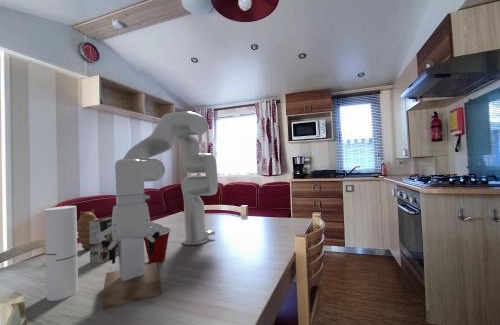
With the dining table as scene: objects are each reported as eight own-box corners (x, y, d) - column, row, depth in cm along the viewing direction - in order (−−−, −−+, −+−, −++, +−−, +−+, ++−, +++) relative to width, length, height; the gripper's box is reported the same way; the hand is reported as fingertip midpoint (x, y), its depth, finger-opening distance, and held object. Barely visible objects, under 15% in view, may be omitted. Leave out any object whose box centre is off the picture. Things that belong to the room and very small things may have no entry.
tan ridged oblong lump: (79, 254, 100) (78, 212, 101) (73, 250, 105) (73, 211, 106) (102, 248, 107) (101, 209, 108) (95, 245, 112) (95, 208, 113)
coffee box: (103, 263, 89) (102, 221, 90) (89, 262, 91) (88, 221, 91) (121, 254, 98) (120, 216, 99) (108, 253, 99) (107, 216, 100)
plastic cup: (153, 268, 82) (152, 234, 83) (136, 263, 88) (135, 231, 88) (177, 257, 91) (176, 227, 92) (160, 253, 97) (159, 224, 98)
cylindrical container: (58, 288, 70) (57, 206, 71) (83, 286, 71) (81, 205, 72) (39, 302, 63) (38, 210, 64) (67, 299, 64) (65, 209, 65)
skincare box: (140, 270, 72) (139, 231, 72) (145, 274, 68) (144, 234, 69) (118, 277, 68) (117, 236, 68) (122, 282, 64) (121, 239, 65)
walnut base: (155, 274, 77) (155, 262, 77) (161, 293, 65) (161, 279, 65) (106, 286, 71) (106, 273, 71) (102, 309, 58) (102, 294, 58)
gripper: (160, 196, 76) (161, 248, 76) (97, 202, 68) (99, 260, 67) (163, 198, 69) (165, 255, 69) (94, 205, 61) (96, 270, 61)
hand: (132, 258), depth 68 cm, fingers open, 9 cm apart
